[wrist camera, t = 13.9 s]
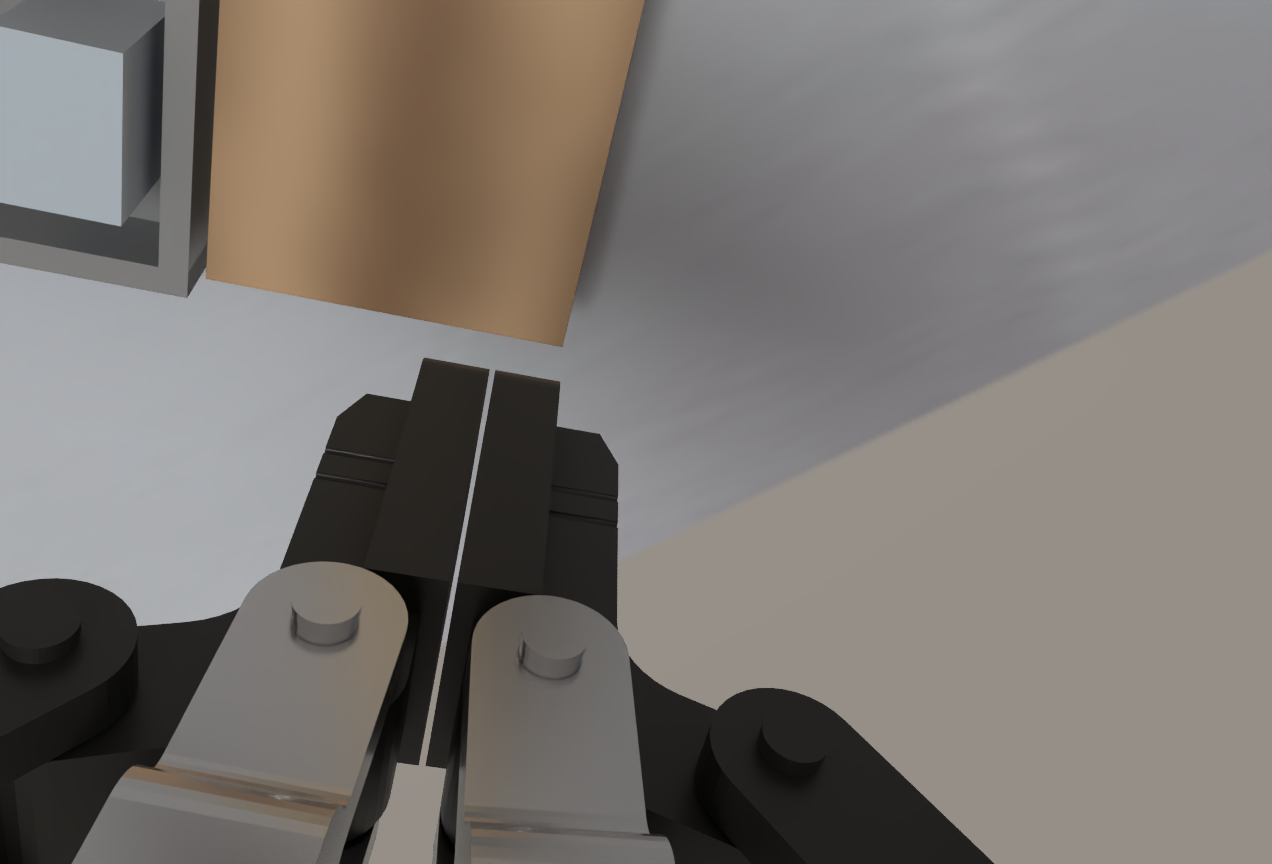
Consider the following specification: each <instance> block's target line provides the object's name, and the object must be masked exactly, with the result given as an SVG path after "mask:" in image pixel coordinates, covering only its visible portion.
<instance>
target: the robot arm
mask: <svg viewBox="0 0 1272 864" xmlns="http://www.w3.org/2000/svg"><path fill="white" fill-rule="evenodd" d="M488 376H489V369H485V368H479V367H474V366H468V365H462V364H457V363H451V362H446V361H440V360H434V359H429V358H424V359H423V361H422V365H421V368H420V372H419V375H418V379H417V382H416V386H415V389H414V393H413V396H412V400H411V401H406V400H400V399H394V398H388V397H383V396H377V395H371V394H366V395H365V396H363V397H362V398H361V399H359V400H358V401H357V402H356V403H354V404H353V405H352V406H350V407H349V408H348V409H347V410H345V411H344V412H343V413H341V414H340V415H339V416H338V417H337V419H336V421H335V424H334V427H333V429H332V432H331V435H330V437H329V440H328V443H327V445H326V449H325V453H323V456H322V459H321V461H320V464H319V467H318V469H317V472H316V478H314V480H313V483H312V485H311V488H310V491H309V493H308V496H307V499H306V501H305V504H304V507H303V509H302V512H301V515H300V517H299V520H298V523H297V525H296V528H295V531H294V533H293V536H292V539H291V541H290V544H289V547H288V549H287V552H286V555H285V557H284V560H283V563H282V565H281V568H280V570H278V571H276V572H274V573H272V574H270V575H268V576H266V577H265V578H264V579H262V580H261V581H259V582H258V583H257V584H256V585H255V586H254V587H253V588H252V589H251V590H250V591H249V593H248V594H247V596H246V597H245V599H244V601H243V603H242V605H241V607H240V608H238V609H236V610H234V611H232V612H229V613H226V614H223V615H221V616H217V617H213V618H209V619H205V620H199V621H191V622H182V623H171V624H159V625H147V626H137V624H136V619H135V617H134V615H133V613H132V611H131V609H130V608H129V607H128V606H127V604H126V603H125V602H124V601H123V600H122V599H121V598H119V597H118V596H116V595H115V594H114V593H112V592H110V591H108V590H106V589H104V588H102V587H100V586H97V585H94V584H91V583H88V582H83V581H77V580H72V579H58V578H55V579H37V580H30V581H23V582H19V583H15V584H11V585H7V586H5V587H2V588H0V864H368V863H369V859H370V856H371V853H372V849H373V846H374V843H375V840H376V835H377V830H378V824H379V818H380V817H381V816H382V814H383V812H384V811H385V809H386V807H387V804H388V801H389V798H390V794H391V789H392V784H393V779H394V774H395V769H396V764H397V762H398V763H405V764H413V765H419V760H420V754H421V749H422V744H423V739H424V733H425V728H426V722H427V717H428V711H429V706H430V701H431V695H432V690H433V684H434V679H435V674H436V668H437V662H438V657H439V652H440V647H441V641H442V636H443V630H444V625H445V620H446V614H447V609H448V603H449V598H450V593H451V587H452V582H453V576H454V571H455V565H456V560H457V555H458V549H459V544H460V538H461V533H462V527H463V522H464V516H465V511H466V505H467V499H468V493H469V488H470V482H471V476H472V470H473V464H474V458H475V453H476V447H477V441H478V435H479V429H480V423H481V417H482V412H483V406H484V400H485V394H486V388H487V382H488ZM559 392H560V382H559V381H553V380H547V379H542V378H536V377H531V376H525V375H519V374H514V373H508V372H503V371H497V370H495V376H494V382H493V387H492V393H491V398H490V404H489V409H488V415H487V421H486V426H485V432H484V437H483V443H482V448H481V454H480V460H479V465H478V471H477V476H476V482H475V487H474V493H473V499H472V504H471V510H470V515H469V521H468V527H467V532H466V538H465V543H464V549H463V554H462V560H461V566H460V571H459V577H458V582H457V588H456V594H455V600H454V605H453V611H452V617H451V623H450V628H449V634H448V640H447V646H446V652H445V657H444V664H443V669H442V675H441V681H440V686H439V692H438V698H437V703H436V709H435V715H434V722H433V727H432V732H431V739H430V744H429V750H428V756H427V761H426V766H431V767H438V768H446V775H445V781H444V788H443V794H442V801H441V807H440V813H439V818H438V823H437V828H436V833H435V839H434V845H433V858H432V864H994V863H993V862H992V861H991V860H990V859H989V858H988V857H987V856H986V855H985V854H984V853H983V852H982V851H981V850H979V849H978V848H977V847H976V846H975V845H974V844H973V843H972V842H971V841H970V840H969V839H968V838H967V837H966V836H965V835H964V834H963V833H962V832H961V831H960V830H959V829H958V828H956V827H955V826H954V825H953V824H952V823H951V822H950V821H949V820H948V819H947V818H946V817H945V816H944V815H943V814H942V813H941V812H940V811H939V810H937V808H936V807H935V806H934V805H933V804H931V803H930V802H929V801H928V800H927V799H926V798H925V797H924V796H923V795H922V794H921V793H920V792H919V791H918V790H917V789H916V788H915V787H914V786H913V785H912V784H911V783H909V781H907V780H906V779H905V778H904V777H903V776H902V775H901V774H900V773H899V772H898V771H897V770H896V769H895V768H894V767H893V766H891V764H890V763H889V762H888V761H886V760H885V759H884V758H883V757H882V756H881V755H880V754H879V753H878V752H877V751H876V750H875V749H874V748H873V747H872V746H871V745H870V744H869V743H868V742H867V741H865V739H864V738H862V737H861V736H860V735H859V734H858V733H857V732H856V731H855V730H854V729H853V728H852V727H851V726H850V725H849V724H848V723H847V722H846V721H845V720H843V719H842V718H841V717H840V716H839V715H838V714H837V713H835V712H834V711H832V710H831V709H830V708H828V707H827V706H825V705H824V704H822V703H820V702H818V701H816V700H814V699H812V698H810V697H807V696H805V695H802V694H799V693H796V692H792V691H788V690H783V689H775V688H757V689H751V690H746V691H743V692H741V693H738V694H736V695H734V696H732V697H730V698H729V699H727V700H726V701H725V702H724V703H723V704H722V705H721V706H720V707H719V708H718V710H715V709H713V708H710V707H708V706H705V705H703V704H700V703H698V702H696V701H693V700H691V699H688V698H686V697H684V696H681V695H679V694H677V693H675V692H673V691H671V690H669V689H667V688H665V687H664V686H662V685H660V684H659V683H657V682H655V681H654V680H653V679H651V678H650V677H649V676H648V675H647V674H645V673H644V672H643V671H642V670H641V669H640V668H639V667H638V666H637V665H636V664H635V663H634V662H633V660H632V659H631V658H630V656H629V654H628V649H627V646H626V644H625V642H624V639H623V637H622V636H621V635H620V633H619V632H618V627H617V550H618V528H617V523H618V502H617V498H618V464H617V462H616V460H615V459H614V457H613V455H612V454H611V452H610V450H609V449H608V447H607V445H606V444H605V442H604V440H603V439H602V437H601V435H600V434H596V433H590V432H585V431H579V430H573V429H567V428H562V427H556V426H557V415H558V403H559Z"/></svg>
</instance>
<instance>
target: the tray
mask: <svg viewBox="0 0 1272 864" xmlns="http://www.w3.org/2000/svg"><path fill="white" fill-rule="evenodd" d="M23 1H25V0H0V16H1V15H3V14H4V13H6V12H7V11H9V10H11V9H12V8H14V7H15V6H17V5H18V4H20V3H22V2H23ZM156 1H160V2H165V33H164V71H163V110H162V148H161V177H160V178H159V179H158V181H157V182H156V183H155V184H154V186H153V187H152V188H151V189H150V191H149V192H148V193H147V195H146V196H145V197H144V198H143V200H142V201H141V202H140V203H139V205H138V206H137V207H136V208H135V210H134V211H133V212H132V213H131V215H130V216H129V217H128V219H127V220H126V221H125V222H124V224H123V225H122V226H116V225H111V224H106V223H101V222H96V221H91V220H86V219H81V218H76V217H71V216H66V215H61V214H56V213H51V212H46V211H41V210H36V209H31V208H26V207H21V206H16V205H10V204H5V203H0V263H4V264H10V265H15V266H20V267H26V268H31V269H36V270H42V271H47V272H52V273H58V274H63V275H68V276H73V277H79V278H84V279H89V280H95V281H100V282H105V283H111V284H116V285H121V286H127V287H132V288H137V289H142V290H148V291H153V292H158V293H164V294H169V295H174V296H180V297H185V298H187V297H188V296H189V294H190V292H191V291H192V289H193V287H194V286H195V284H196V282H197V281H198V279H199V277H200V276H201V274H202V272H203V271H204V269H205V268H206V266H207V246H208V226H209V206H210V186H211V166H212V146H213V126H214V106H215V86H216V66H217V46H218V26H219V6H220V0H156Z"/></svg>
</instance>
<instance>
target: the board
mask: <svg viewBox="0 0 1272 864" xmlns="http://www.w3.org/2000/svg"><path fill="white" fill-rule="evenodd" d="M644 2H645V0H220V6H219V26H218V46H217V66H216V86H215V106H214V126H213V146H212V166H211V186H210V206H209V226H208V246H207V266H206V279H210V280H215V281H221V282H226V283H231V284H236V285H242V286H247V287H252V288H257V289H262V290H268V291H273V292H278V293H283V294H289V295H294V296H299V297H304V298H309V299H315V300H320V301H325V302H330V303H336V304H341V305H346V306H351V307H356V308H362V309H367V310H372V311H377V312H383V313H388V314H393V315H398V316H403V317H409V318H414V319H419V320H424V321H430V322H435V323H440V324H445V325H450V326H456V327H461V328H466V329H471V330H477V331H482V332H487V333H492V334H497V335H503V336H508V337H513V338H518V339H524V340H529V341H534V342H539V343H545V344H550V345H555V346H560V347H563V342H564V338H565V334H566V330H567V326H568V321H569V317H570V313H571V309H572V305H573V300H574V296H575V292H576V288H577V283H578V279H579V275H580V271H581V267H582V262H583V258H584V254H585V250H586V246H587V241H588V237H589V233H590V229H591V225H592V220H593V216H594V212H595V208H596V204H597V199H598V195H599V191H600V187H601V182H602V178H603V174H604V170H605V166H606V161H607V157H608V153H609V149H610V145H611V140H612V136H613V132H614V128H615V124H616V119H617V115H618V111H619V107H620V103H621V98H622V94H623V90H624V86H625V81H626V77H627V73H628V69H629V65H630V60H631V56H632V52H633V48H634V44H635V39H636V35H637V31H638V27H639V23H640V18H641V14H642V10H643V6H644Z"/></svg>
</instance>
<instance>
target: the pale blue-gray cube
mask: <svg viewBox="0 0 1272 864" xmlns="http://www.w3.org/2000/svg"><path fill="white" fill-rule="evenodd" d="M164 33H165V2H160V1H156V0H25V1H23V2H22V3H20V4H18V5H17V6H15V7H14V8H12V9H11V10H9V11H7V12H6V13H4V14H3V15H1V16H0V203H5V204H10V205H16V206H21V207H26V208H31V209H36V210H41V211H46V212H51V213H56V214H61V215H66V216H71V217H76V218H81V219H86V220H91V221H96V222H101V223H106V224H111V225H116V226H122V225H123V224H124V222H125V221H126V220H127V219H128V217H129V216H130V215H131V213H132V212H133V211H134V210H135V208H136V207H137V206H138V205H139V203H140V202H141V201H142V200H143V198H144V197H145V196H146V195H147V193H148V192H149V191H150V189H151V188H152V187H153V186H154V184H155V183H156V182H157V181H158V179H159V178H160V177H161V148H162V110H163V71H164Z"/></svg>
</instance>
